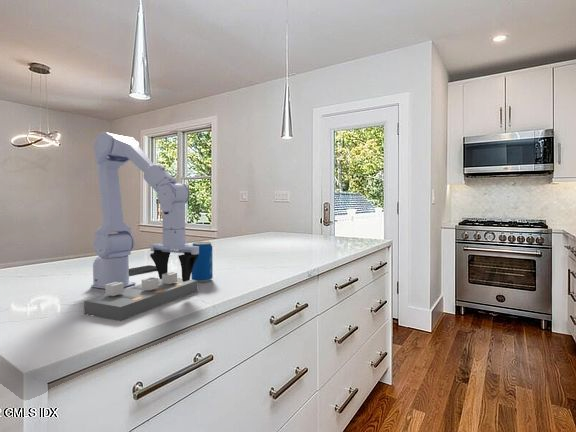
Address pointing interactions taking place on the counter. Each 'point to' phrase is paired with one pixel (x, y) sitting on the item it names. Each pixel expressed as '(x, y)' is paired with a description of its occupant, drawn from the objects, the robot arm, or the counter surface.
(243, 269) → the counter surface
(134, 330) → the counter surface
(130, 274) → the phone
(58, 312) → the counter surface
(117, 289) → the switch
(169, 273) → the switch
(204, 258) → the beverage can
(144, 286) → the switch
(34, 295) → the counter surface
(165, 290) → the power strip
